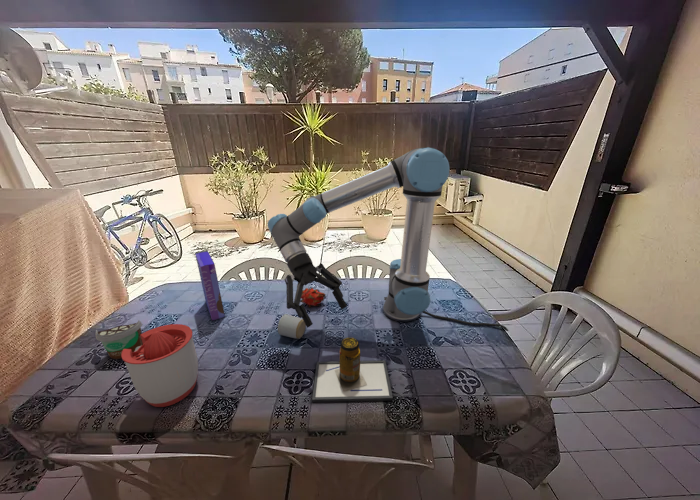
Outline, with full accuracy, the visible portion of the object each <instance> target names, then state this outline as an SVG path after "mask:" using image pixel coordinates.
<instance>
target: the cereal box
mask: <svg viewBox="0 0 700 500" xmlns="http://www.w3.org/2000/svg"><path fill="white" fill-rule="evenodd" d="M194 255H195V259H196V265H197V269H198V273H199V278H200V282H201V283H200V284H201V286H202V291H203V295H204V300H205V304H206V307H207V310H208V313H209V316H210V319H211V321H213V322H214V321H216V320H220V319H223V318H226V315H225V310H224V306H223V305H224V304H223V300H222V295H221V290H220V289H221V288H220V283H219V280H218V274H217V269H216V263H215V261H214V260H213V258H212V255H210V253H209V251H208V250H202V251H198V252H195V253H194Z"/></svg>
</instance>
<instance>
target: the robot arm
mask: <svg viewBox="0 0 700 500" xmlns="http://www.w3.org/2000/svg"><path fill="white" fill-rule="evenodd" d="M449 175H450V162H449V160H448V158H447V157H446V155H445V154H444V153H443V152H442V151H440V150H438V149H437V148H434V147H418V148H413V149H411V150H409V151H407V152H406V153H404V154H403V155H401V156H399V157H397V158H395V159H392V160H390V161H388V164H387V165H386V166H384V167H381V168H379V169H377V170H374V171H372V172H370V173H367V174H365V175H362V176H360V177H357V178H354V179H352V180H350V181H348V182H346V183H343V184H340V185H338V186H336V187H333V188H331V189H328V190H326V191H324V192H322V193H319V194H317V195H312V196H310V197H307V199H305V200H304V202H303V203H302V204H301V205H300V206H298V208H296V209H295V210H294V211H292V212H291V213H290V214H288V215H287V214H286V213H278V214H276V215H273V216H272V217H271V218H270V219H269V220H268V221H267V229H268V230H269V232H270V236H271V237H272V238H273V239H272V240H273V241H274V242H275V244H276V246H277V248H278V249H279V252H280V254H281V256H282V257H283V260H284V262H285V263H286V265H287V268H288V269H289V272H290V273H291V274H288V275H286V276H285V278H284V282H285V284H286V309H288V310H290V309H292V310H295V312H296V314H297V317H298V318H301V319H303V320H304V322H305V324H306V328H307V329H308V328H310V327H312V326H313V325H314V324H313V321H312V320H311V318H310V316H309V314H308V312H307V310H306V308H305V306H304V303H302V304H301V302H300V301H301V300H302V299H301V295H302V291H303V290H304V286H307V285H308V284H312V283H314V282H315V283H318V284H320V285H322V286H324V287H326V288H328V289H329V290H332V291H331V293H332V295H333V297H334V299H335V301H336V302H337V304H338V306H339V308H340V310H344V309H345V308H347V307H348V305H347V303H346V301H345V299H344V298H343V297H344V293H343V292H342V290H341V289H340V287H341V286H342V284H343V282H342V281H341V280H340V279H339V278H338V277H337V276H336V275H335V274H333V273H332V272H330V271H329V269H327V268H326V267H325V266H324V264H323V263H319V264H318V265H317V266H315V265H314V264H313V260H312V258H311V257H310V255H309V253H307V249H306V247H305V245H304V244H303V242H302V240H301V238H300V236H301V235H303V234H304V233H305V232H307V231H308V230H310V229H311V228H312V227H314V226H315V225H317V224H319V223H321V221H322V220H323V219H325V218H326V217H327V214H330V213H333V212H335V211H337V210H340V209H342V208H344V207H347V206H350V205H352V204H354V203H358V202H361V201H362V200H365V199H367V198H370V197H372V196H375V195H377V194H379V193H382V192H385V191H387V190H389V189H392V188H397V189H401V188H402V195H403V197H404V198H406V203H405V205H406V206H405V216H404V225H403V236H402V238H403V239H402V245H401V246H402V247H401V257H400V258H398V259H393V260H392V261H390V264H389V277H388V293H387V296H384V298H383V301H384V303H383V308H382V309H383V314H384V315H385V316H386V317H387V318H389V319H391V320H392V321H395V322H400V323H409V322H414V321H416V320H417V319H419V318H420V315H421V314H425V315H427V316H430V317H433V318H435V319H441V320H444V321H445V320H447V321H451V322H456V323H460V324H464V325H469V326H488V327H496V328H501V327H502V329H503V330H504V331H506V332H509V328H507V327H506V326H505V325H504V324H500V323H490V322H473V321H472V322H471V321H465V320H461V319H457V318H454V317H447V316H442V315H436V314H433V313H431V312H429V311H426V310H427V309H428V308H429V306H430V305H431V295H430V293H429V284H430V278H431V275H430V274H429V272H428V271H427V264H428V257H429V249H430V243H431V235H432V227H433V221H434V213H435V206H436V205H435V204H436V201H438V199H440V198H441V197H442V192H443V186H444V185H445V184H446V182H447V181H448V178H449ZM294 281H295V282H297V284H296V291H295V295H294ZM499 326H501V327H499Z"/></svg>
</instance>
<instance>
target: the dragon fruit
mask: <svg viewBox="0 0 700 500" xmlns="http://www.w3.org/2000/svg"><path fill="white" fill-rule="evenodd" d="M326 298H327V295H326V293H325V292H321V291H320V289H318V288H317V289H316V288H314V287H306V288H304V289H303V291H302V295H301V300H300V303H302V304H306V305H307V306H308V307H309V308H311V307H312V306H315V307H319V306H321V305H322V302H324V300H325V299H326Z"/></svg>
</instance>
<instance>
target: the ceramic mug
mask: <svg viewBox="0 0 700 500" xmlns="http://www.w3.org/2000/svg"><path fill="white" fill-rule="evenodd" d="M306 328H307V326H306V324H305V322H304V320H303V318H302V317H301V318H299V316H294V315H291V314H289V313H285V314H283V315H282V316H281V317H280V318H279V321H278V324H277V333H278V335H280V336H283V337H287V338H291V339H301V338H302V337H303V335H304V334H305V331H306Z"/></svg>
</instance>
